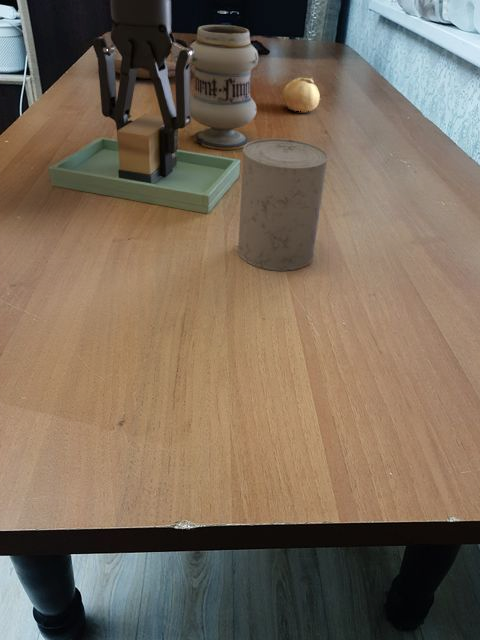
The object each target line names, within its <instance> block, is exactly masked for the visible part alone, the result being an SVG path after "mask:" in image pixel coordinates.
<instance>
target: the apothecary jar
mask: <svg viewBox="0 0 480 640" xmlns="http://www.w3.org/2000/svg"><path fill="white" fill-rule="evenodd" d="M250 35H251V33H250V30H249V29H248V28H245V27H242V26H236V25H228V24H227V25H226V24H206V25H201V26H199V27H198V28H197V33H196V37H195V40H194V41H193V42H192V43H191V44H190V45H189V47H191V48H192V49H193V50H194V56H193V59H192V62H191V64H193V65H192V66H193V67H194V92H193V93H194V94H192V95H191V96H190V97H191V118H192V119H193V120H194V121H196V122H197V123H199V124H201V125H203V126H205V127H208V128H206V129H204V130H203V129H202V130H200V131H198V132H196V133H195V134H194V136H193V141H194V142H195V144H200V145H201V147H205V148H208V149H213V150H218V151H219V150H220V151H221V150H222V151H231V150H238V149H243V148H244V146H245V145H246V144H248V143H249V138H248V137H247V136H246V135H244V134H243V133H241V132H239V131H238V130H235V129H238V128H242V127H245V126H246V125H248V124H249V123H251V122H252V120H254V119H255V118H256V115H257V111H258V109H257V108H258V107H257V105H256V102H255V100H254V99H253V98H252V97H251V75H252V74H251V73H252V70H253V69H254V68H255V67H256V66H257V65H258V62H259V58H260V57H259V53H258V50H257V49H256V48H255V46H254V45H253V44H252V43H251V38H250Z"/></svg>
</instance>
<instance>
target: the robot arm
mask: <svg viewBox="0 0 480 640" xmlns="http://www.w3.org/2000/svg"><path fill="white" fill-rule="evenodd" d="M109 2H110V13H111V20H112V28H111V31H110V34H109V35H101V36H99V37H95V38H93V39H92V40H91V43H92V47H93V50H94V52H95V56H96V55H97V56H96V59H97V66H98V68H97V69H98V79H99V80H98V81H99V93H100V105H101V114H102V115H103V117H105V118H109V119H112V120H113V121H114V122H115V125H116V126H115V127H116V132H117V131H118V130H119V129H121V128H123V127H124V126H126V125H127V124H129V123H131V122H132V121H133V120H130V118H131V117H132V114H131V111H132V110H131V109H132V104H133V103H132V102H133V98H134V91H135V86H136V81H137V77H136V75H137V72H138V70H139V68H142V69H144V70H147V71H149V75H150V78H151V80H152V84H153V87H154V91H155V95H156V99H157V103H158V107H159V111H160V116H162V119H163V123H164V128H163V129H162V130H160V159H161V177H167V176H168V175H169V174H170V173H171V172H172V171H173V164H172V154H174V153H175V152H176V151H177V150H179V129H181V130H182V129H184V128H185V127H187V126H188V125H189V124H191V122H192V116H191V97H192V96H191V68H190V66H191V62H192V59H193V56H194V50H193V49H192V48H191V47H190V46H188V47H185V46H183V45H182V44H180V43H178V42H176V39H175V36H174V34H173V32H172V31H173V30H172V0H110V1H109ZM114 45H115V47H116V48H117V50H118V52H119V53H120V55H121V56H122V61H121V67H120V72H121V74H120V77H119V85H118V91H117V82H116V81H117V80H116V72H115V65H114V55H113V52H114ZM171 52H172V53H173V56H174V57H173V59H174V62H175V63H176V68H175V76H174V78H175V79H174V81H175V101H174V96H173V93H172V88H171V85H170V80H169V77H168V69H167V65H166V61H165V60H166V59H167V57H168V56H169V54H170V53H171ZM150 78H149V79H150ZM116 140H117V141H118V137H117V136H116Z"/></svg>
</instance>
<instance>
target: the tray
mask: <svg viewBox="0 0 480 640" xmlns="http://www.w3.org/2000/svg"><path fill="white" fill-rule="evenodd" d="M175 154H177V164H176V165H175V166H174V167H173V171H172V172H171V173H170V174H169V175H168V176H167V177H162V178H160V179H159V180H158V181H157V182H156V183H155V184H150V183H145V182H139V181H133V180H127V179H122V178H119V175H118V170H119V169H120V163H119V150H118V141H117V138H116V139H115V138H110V137H103V136H99V137H98V138H96V139H94V140H93V141H91V142H89V143H88V144H86V145H84V146H83V147H81V148H79V149H77V150H76V151H74V152H73V153H72V154H69V155H67V156H66V157H64V158H62V159H61V160H59V161H57V162H56V163H54V164H53V165H51V166H50V167H48V173H49V180H50V185H51V187H56V188H57V187H58V188H63V189H68V190H74V191H78V192H79V191H80V192H84V193H85V192H86V193H91V194H97V195H102V196H107V197H113V198H119V199H124V200H128V201H129V200H130V201H135V202H141V203H146V204H152V205H157V206H162V207H163V206H164V207H168V208H174V209H180V210H185V211H191V212H195V213H202V214H209V213H211V211H212V210H213V209H214V208H215V206H216V205H217V204H218V202H219V201H220V200H221V199H222V198H223V196H224V195H225V194H226V193H227V191H228V190H229V189H230V188H231V187H232V186H233V184H234V183H235V182H236V181H237V179H239V177H240V170H241V169H240V168H241V160H240V159H237V158H230V157H225V156H219V155H213V154H207V153H201V152H196V151H195V152H194V151H189V150H182V149H177V151H176V152H175Z"/></svg>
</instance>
